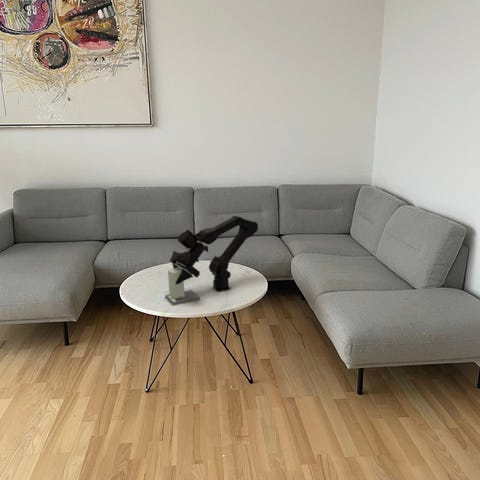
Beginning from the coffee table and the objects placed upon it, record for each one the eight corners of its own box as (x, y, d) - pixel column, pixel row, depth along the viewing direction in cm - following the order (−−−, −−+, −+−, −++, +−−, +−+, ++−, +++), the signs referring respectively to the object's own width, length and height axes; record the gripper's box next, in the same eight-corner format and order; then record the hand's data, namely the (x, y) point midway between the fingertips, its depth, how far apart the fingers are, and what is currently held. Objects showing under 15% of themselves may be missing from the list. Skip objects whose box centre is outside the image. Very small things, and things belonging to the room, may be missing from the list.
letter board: (191, 292, 212) (191, 289, 212) (199, 299, 203) (199, 296, 203) (165, 297, 206) (165, 294, 206) (172, 305, 198) (172, 302, 197)
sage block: (179, 292, 205) (177, 267, 202) (184, 295, 201) (183, 270, 198) (169, 294, 202) (167, 270, 199) (174, 298, 199) (173, 273, 195)
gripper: (172, 240, 205) (151, 267, 202) (192, 249, 190) (170, 279, 187) (188, 253, 212) (168, 280, 208) (208, 262, 197) (188, 292, 194)
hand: (173, 282), depth 199 cm, fingers closed on sage block, 5 cm apart
